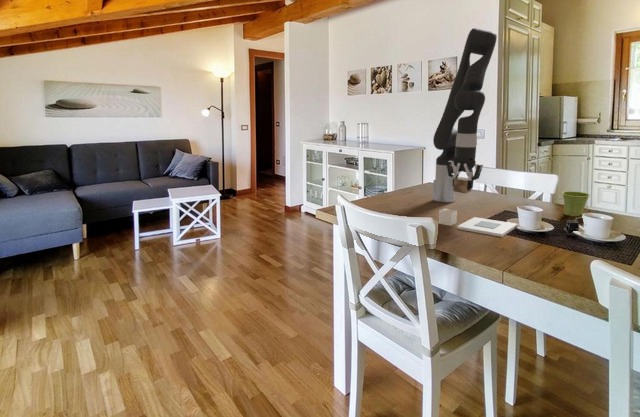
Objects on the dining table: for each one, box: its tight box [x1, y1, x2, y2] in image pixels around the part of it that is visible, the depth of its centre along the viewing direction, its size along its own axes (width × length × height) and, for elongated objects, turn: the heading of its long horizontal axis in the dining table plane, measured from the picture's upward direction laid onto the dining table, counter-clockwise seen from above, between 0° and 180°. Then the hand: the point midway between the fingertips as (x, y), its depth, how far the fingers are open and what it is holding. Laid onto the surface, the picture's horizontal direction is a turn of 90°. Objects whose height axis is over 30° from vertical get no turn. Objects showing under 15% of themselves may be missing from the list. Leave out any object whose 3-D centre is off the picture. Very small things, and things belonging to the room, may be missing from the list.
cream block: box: [438, 208, 458, 227], centre depth 160 cm, size 5×5×5 cm
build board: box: [456, 216, 519, 238], centre depth 153 cm, size 16×16×1 cm
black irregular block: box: [564, 219, 580, 233], centre depth 145 cm, size 12×7×5 cm, turn 161°
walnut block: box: [453, 176, 472, 194], centre depth 163 cm, size 5×5×5 cm
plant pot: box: [561, 190, 591, 218], centre depth 167 cm, size 9×9×9 cm
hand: (462, 188), depth 164 cm, fingers closed on walnut block, 5 cm apart
